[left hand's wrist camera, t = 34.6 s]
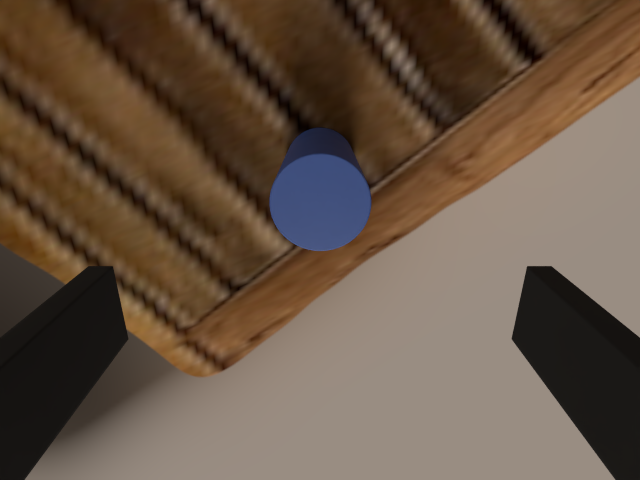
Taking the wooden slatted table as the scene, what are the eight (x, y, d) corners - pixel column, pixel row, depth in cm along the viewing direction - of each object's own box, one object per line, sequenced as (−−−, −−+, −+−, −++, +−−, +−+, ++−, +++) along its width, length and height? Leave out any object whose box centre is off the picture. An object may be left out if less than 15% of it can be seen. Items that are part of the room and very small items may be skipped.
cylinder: (275, 143, 35) (252, 176, 23) (339, 116, 34) (350, 136, 22) (302, 204, 37) (293, 264, 25) (363, 180, 36) (385, 230, 24)
